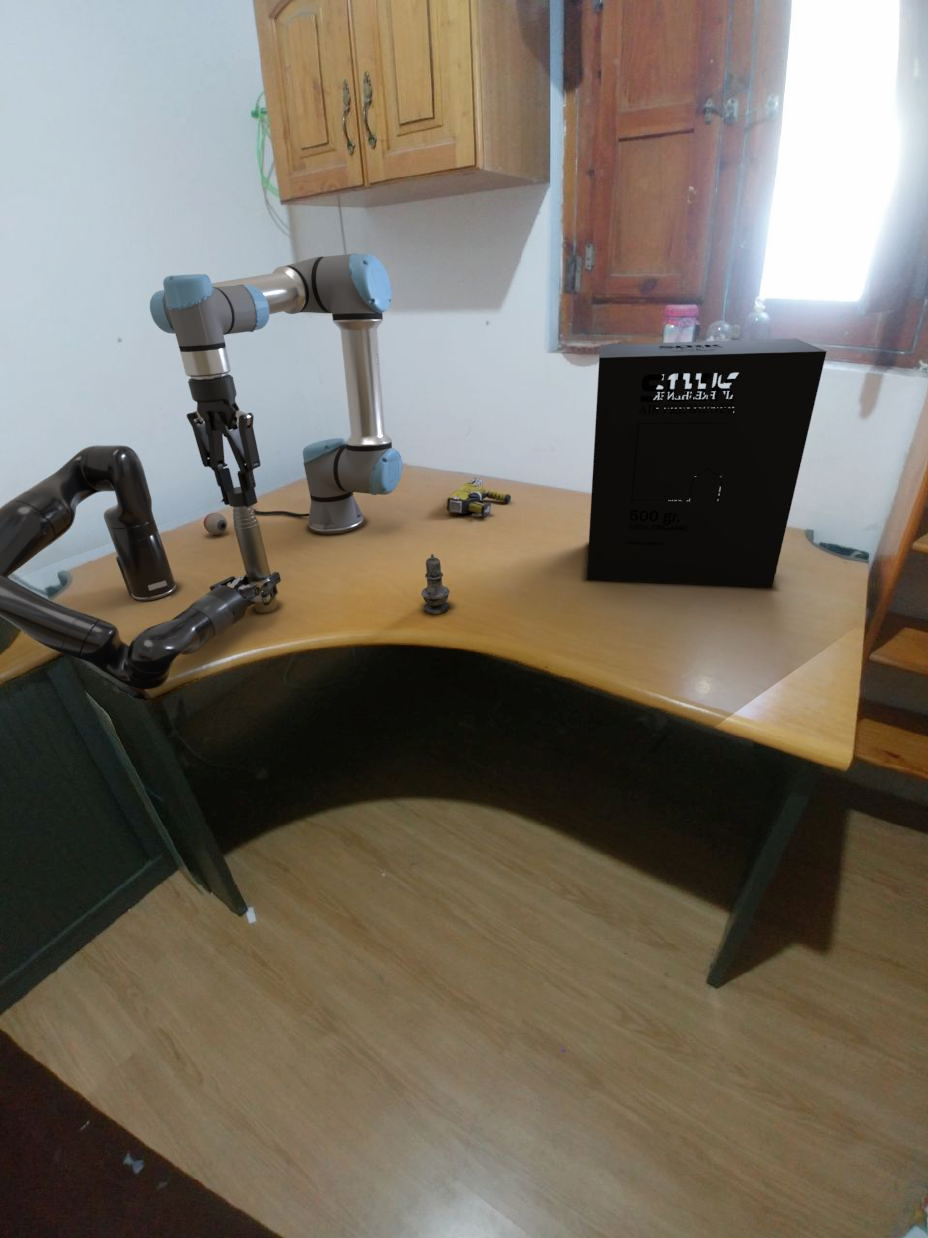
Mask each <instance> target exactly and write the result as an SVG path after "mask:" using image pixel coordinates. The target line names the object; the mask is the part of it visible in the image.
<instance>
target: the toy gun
mask: <svg viewBox="0 0 928 1238" xmlns="http://www.w3.org/2000/svg"><path fill="white" fill-rule="evenodd" d="M485 499H492V500H496V501H499V502H502V503H506V504H508V503H510V502H511V500H512V496H511V494H508V493H502V492H497V491H495V490H494V491H493V490H488V491H487V492H486V491H485V489H484V479H483V478H479V479H478V477H474V478H473V479H471V480H470V481H468V482H467V483H465V484H464V485H463V486H462V487H460V488H459V489H457V490H456V491H455V492H454V493H453V494H451V495H450V496H449V497H448V498H447V499H446V510H447V512H450V513H451V515H453V514H454V515H458V514H460V515H461V514H462V515H464V514H468V513H476V514H479V515H481V517H482V518H485V517H486V516H488V515H490V514H491V508H492V507H491V505H492V503H491V502H490V501H486V502H484V500H485Z"/></svg>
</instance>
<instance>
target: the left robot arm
mask: <svg viewBox="0 0 928 1238" xmlns="http://www.w3.org/2000/svg"><path fill="white" fill-rule="evenodd" d="M103 492H114V494H115V497H116V502H117V503H116V504H115V505H113V506H111V507H108V508H107V509H106V510H105V511H104V512H103V519H104V522H105V525H106V528H107V531H108V533H109V535H110V538H111V541H112V544H113V546H114V549H115V552H116V555H117V556H116V557H115V560H116V563H117V566H118V568H119V571H120V573H121V576H122V579H123V581H124V584H125V587H126V590H127V592H128V595H129V596H130V597H132V599H133V600H135V601H138V602H150V601H155V600H160V599H163V598H165V597H167V596H169V595H171V594H173V593H174V592H175V591H176V590H177V588H178V586H177V582H176V580H175V578H174V575H173V572H172V569H171V565H170V563H169V559H168V557H167V553H166V551H165V550H166V549H165V546H164V544H163V541H162V539H161V538H162V537H161V536H160V532H159V529H158V526H157V523H156V520H155V517H154V514H153V501H152V496H151V492H150V487H149V485H148V480H147V476H146V473H145V470H144V466H143V463H142V461H141V458H140V456H139V455H138V453H137V452H136V451H135V450H134V449H133V448H131V447H130V446H128V445H122V444H121V445H119V444H109V445H108V444H107V445H106V444H105V445H104V444H103V445H101V444H100V445H98V444H97V445H91V446H87V447H84V448H83V449H81V450H80V451H78V452H77V453H76V454H74V456H72V458H70V459H69V460H68V461H67V462H66V463H65V464H63V465H62V466H61V467H60V468H59V469H58V470H57V471H55V472H54V473H52V474H51V475H49V476H48V477H45V478H44V479H43V480H40V481H39V482H37V484H34V485H33V486H32V487H29V488H28V489H27V490H25V491H23V492H21V493H20V494H19V495H16V496H15V497H14V498H12V499H10V500H9V501H8V502H6V503H5V504H3V505H2V506H1V507H0V617H1V618H3V619H4V620H6V621H7V622H9V623H10V624H11V625H13V626H14V627H16V628H17V629H19V630H20V631H21V632H23V633H24V634H26V635H27V636H29V638H32V639H33V640H34V641H36V642H38V643H39V644H41V645H43V646H45V647H47V648H49V649H51V650H54V651H55V652H58V653H61V654H64V655H68V656H70V657H73V658H76V659H79V660H82V661H84V662H87V663H91V664H93V665H94V666H95V667H97V668H98V669H99V670H101V671H102V672H104V673H106V674H107V675H109V676H111V677H113V678H114V679H116V680H117V681H120V682H121V683H123V684H124V685H127V686H129V687H131V688H134V689H140V690H154V689H158V688H160V687H162V686H163V685H164V684H165V683H166V682H167V680H168V679H169V677H170V674H171V670H172V668H173V664H174V662H175V660H176V659H177V658H178V656H180V655H183V656H189V655H192V654H194V653H196V652H197V651H199V650H200V649H202V648H203V647H205V646H206V645H207V644H208V643H209V642H211V641H213V639H216V638H217V637H219V636H220V635H222V634H223V633H225V632H226V631H228V629H230V628H231V627H232V626H233V625H235V624H236V623H237V622H239V621H240V620H241V619H243V618H244V617H245V615H246V612H247V610H248V608H250V607H251V606H254V604H255V603H256V602H263V605H265V606H267V605H269V604H270V603H271V602H272V600H273V599H274V597H275V596H276V597H277V595H278V593H279V591H278V587H277V585H278V584H279V583H281V582H282V579H281V574H280V572H279V571H274V572H272V573H271V575H270V576H269V577H267V578H266V579H265V580H263V581H261V582H257V581H255V582H253V583H251V584H249V583H248V579H247V575H246V574H244V575H239V576H237V577H236V576H234V575H233V576H229V577H227V578H225V579H222V580H221V581H219V582H217V583H215V584H213V585H210V586H209V590H210V591H209V592H207V593H206V594H204V595H203V596H201V597H200V598H199V599H197V600H195V601H194V602H192V603H191V605H189V607H187V608H186V609H184V610H183V611H182V612H180V613H179V614H177V615H176V616H174V617H173V618H172V619H171V620H167V621H164V622H163V621H162V622H161V623H158V624H155V625H153V626H149V627H148V628H145V629H144V630H142V631H141V632H139V633H138V634H137V635H136V636H135V637H134V638H133V639H132V640H131V642H130V644H127V643H125V642H124V641H123V640H122V639H121V637H120V633H119V629H118V628H117V626H115V625H114V624H113V623H111V622H108V621H106V620H103V619H100V618H98V617H95V616H93V615H90V614H87V613H84V612H82V611H79V610H76V609H73V608H71V607H69V606H67V605H63V604H61V603H59V602H57V601H54V600H52V599H50V598H47V597H45V596H43V595H41V594H39V593H37V592H36V591H34V590H32V589H29V588H27V586H26V587H25V586H24V585H23V584H20V583H19V582H16V581H14V580H13V579H11V578H9V576H11V575H12V574H13V573H15V572H16V571H17V570H18V569H20V568H21V567H23V566H24V565H25V564H26V563H28V562H29V561H30V560H32V559H33V558H34V557H35V556H37V555H38V554H39V553H40V552H42V551H43V550H45V549H46V548H47V547H49V546H51V545H52V544H53V543H54V542H56V541H57V540H58V539H59V538H61V537H62V536H64V535H65V534H66V533H67V532H68V531H69V530H70V529H71V527H72V526H73V524H74V522H75V519H76V514H77V507H78V506H79V504H81V503H82V502H83V501H85V500H86V499H88V498H89V497H92V496H93V495H96V494H97V493H103ZM229 583H230V584H229ZM228 584H229V585H228ZM263 585H265V589H264V590H263V589H262V586H263ZM254 587H256V590H255V588H254ZM256 591H257V594H256Z"/></svg>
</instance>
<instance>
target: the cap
mask: <svg viewBox="0 0 928 1238" xmlns="http://www.w3.org/2000/svg"><path fill="white" fill-rule="evenodd" d="M226 494H227V498H228V502H229V505H228V506H229V507H232V508H233V507H242V506H245V503H244V499H243V495H242V491H241V487H240V486H235V487H234V488H231V489H229V490H227V491H226Z"/></svg>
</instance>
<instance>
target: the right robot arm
mask: <svg viewBox="0 0 928 1238" xmlns="http://www.w3.org/2000/svg"><path fill="white" fill-rule="evenodd" d="M162 285H163V289H162V290H157V291H156V292H154V293H153V295H151V298H150V301H149V312H150V315H151V317H152V320H153V322H154V324H155V325H156V326H157V327H158V329H160V330H161V331H163V332H165V333H167V334H174V335H175V338H176V341H177V342H176V343H177V345H178V349H179V352H180V357H181V361H182V365H183V369H184V374H185V375H186V376H187V377H190V378H189V379H188V381H187V383H188V388H189V391H190V394H191V398H192V400H193V401H194V402H195V403H196V410H194V411H192V412H189V413H187V414H186V419H187V420H188V422H189V424H190V426H191V429H192V432H193V435H194V438H195V442H196V446H197V449H198V452H199V456H200V459H201V463H202V465H203V467H204V468H208V467H209V468H210V469H211V470H212V471H213V473H214V477H215V481H216V485H217V486H218V487H219V488H220V492H221V496H222V500H221V502H222V503H224V505H225V506H230V505H229V502H228V498H227V494H226V491H227V490H229V489H231V488H235V487H234V481H233V477H232V474H231V470H230V467H228V463H226V461H225V449H224V437H225V438H226V440H227V443H228V444H229V448H230V450H231V452H232V454H233V457H234V459H235V462H236V464H237V466H238V469H239V470H238V471H237V473H236V475H237V478H238V482H239V487H241V491H242V495H243V499H244V503H245V507H250V506H252V507H253V506H254V505H256V504H258V497H257V494H256V489H255V488H256V486H257V483H256V480H255V475H254V470H255V469H257V468H259V467H261V465H262V464H261V460H260V459H261V458H260V454H259V450H258V445H257V444H258V443H257V439H256V435H255V429H254V417H255V416H254V414H253V412H247V413H246V412H244V411H242V410H240V407H239V406H238V404H237V402H236V397H237V389H236V385H235V381H234V377H233V376H232V374H230V372H231V370H232V369H231V364H230V359H229V355H228V351H227V350H228V349H227V345H226V340H225V336H226V335H234V334H242V333H254V331H258V330H262V329H263V328H265V327H266V325H267V324H268V322H269V319H270V315H273V314H277V313H281V312H284V313H285V314H288V315H295V314H299V313H300V314H301V313H313V314H331V317H332V323H333V324H334V325H335V326H336V327H338V329H339V331H340V340H341V349H342V350H341V351H342V358H343V359H342V361H343V369H344V378H345V379H344V380H345V388H346V399H347V409H348V410H347V411H348V420H349V430H350V436H349V437H348V438H347V439H344V438H341V437H340V438H339V437H337V438H330V439H324V440H320V441H317V442H313V443H309V444H308V445H306V446H305V447H304V448H303V450H302V457H303V458H302V460H303V467H304V473H305V477H306V482H307V487H308V492H309V498H310V507H309V512H307V513H296V512H292V511H287V510H286V511H285V510H271V511H259V510H257V509H253V510H254V513H255V515H287V516H293V517H299V518H300V517H302V518H305V517H308V523H307V524H308V528H309V529H308V530H310V531H311V532H312V533H314V534H317V535H323V536H324V535H325V536H327V535H329V536H331V535H339V534H340V535H341V534H345V533H350V532H353V531H355V530H357V529H359V528H361V527H362V526H363V525H364V523H365V519H364V514H363V512H362V510H361V508H360V505H359V504H358V501H357V500H356V498H355V495H354V493H357V494H367V495H368V494H369V495H372V496H377V495H383V496H384V495H389V494H391V493H392V492H393V491H394V490H396V488H397V487H398V485H399V483H400V480H401V478H402V473H403V458H402V456H401V453H400V452H399V450H397V449H396V448H393V442H392V438H391V437H390V436H388V434H387V433H386V427H385V416H384V402H383V400H384V399H383V389H382V377H381V376H382V375H381V363H380V362H381V361H380V349H379V347H380V346H379V334H378V328H379V327H380V325H381V324H382V323H383V321H384V316H383V315H384V314H383V313H385V312H386V311H388V309H389V308H390V306H391V300H392V285H391V281H390V277H389V275H388V272H387V270H386V268H385V267H384V265H383V263H382V262H381V260H380V259H379V258H378V257H376V256H375V255H373V254H370V253H357V252H356V253H348V254H339V255H327V256H326V255H325V256H314V257H310V258H307V259H304V260H301V261H298V262H294V263H290V264H287V265H281V266H278V267H276V268H275V269H274V270H273V271H272V272H270V273H265V274H259V275H254V276H248V277H241V278H236V279H230V280H224V281H218V282H212V280H211V278H210V276H209V275H208V274H205V273H202V274H201V273H194V274H177V275H168V276H165V277H164V279H163V281H162ZM223 436H224V437H223Z"/></svg>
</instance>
